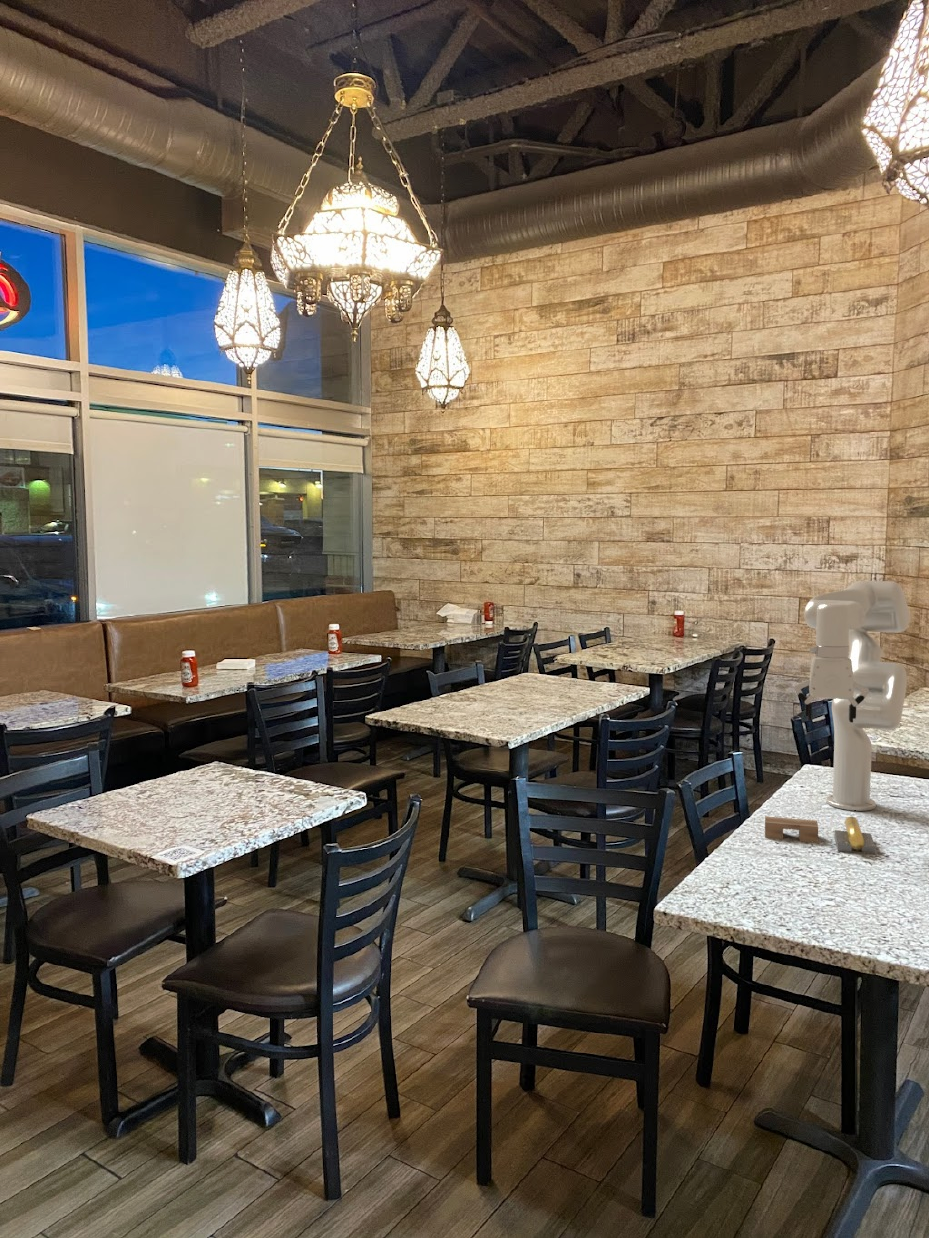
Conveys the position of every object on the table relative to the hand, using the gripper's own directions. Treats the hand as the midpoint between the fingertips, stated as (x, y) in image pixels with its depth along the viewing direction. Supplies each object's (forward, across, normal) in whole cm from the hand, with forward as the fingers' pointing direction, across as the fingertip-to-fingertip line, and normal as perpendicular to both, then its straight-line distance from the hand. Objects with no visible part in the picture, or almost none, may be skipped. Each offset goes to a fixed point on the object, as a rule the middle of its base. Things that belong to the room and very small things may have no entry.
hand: (830, 720), depth 220 cm
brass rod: (+24, +5, -13) cm, 28 cm away
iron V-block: (+28, +5, -14) cm, 32 cm away
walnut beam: (+28, -9, -12) cm, 32 cm away
